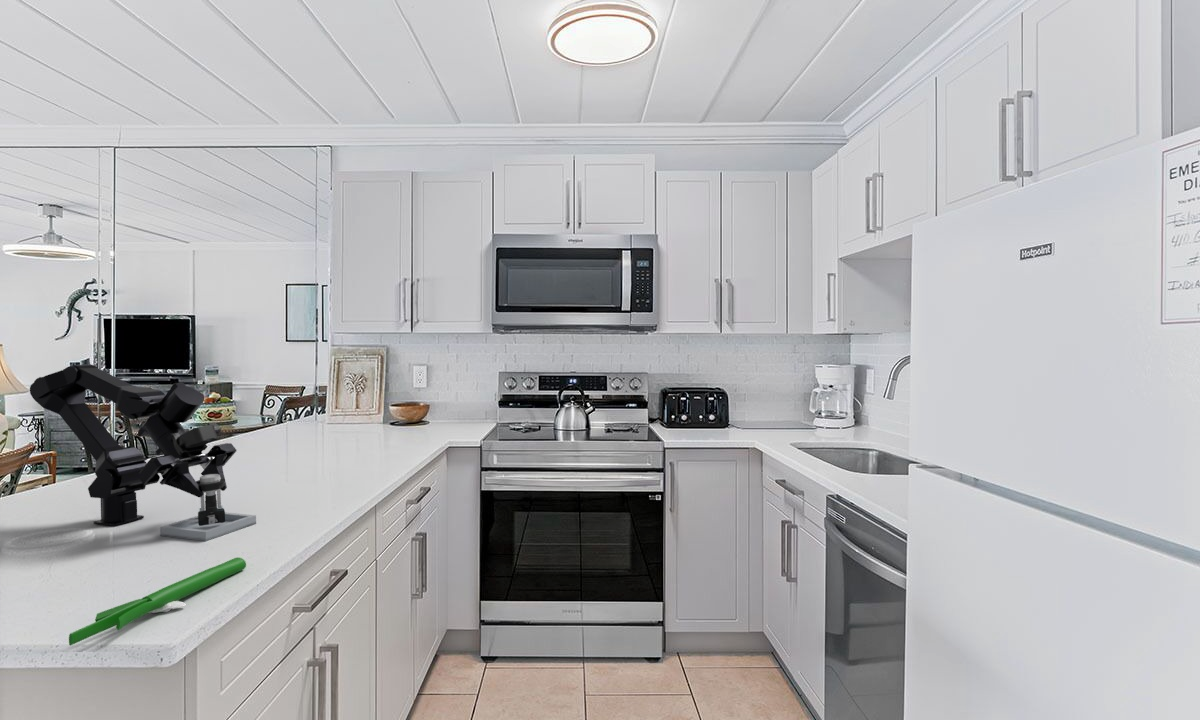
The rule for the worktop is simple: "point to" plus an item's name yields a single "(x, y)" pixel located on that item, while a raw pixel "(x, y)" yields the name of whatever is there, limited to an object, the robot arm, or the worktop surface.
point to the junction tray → (207, 527)
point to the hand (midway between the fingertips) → (213, 492)
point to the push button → (210, 500)
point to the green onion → (157, 600)
